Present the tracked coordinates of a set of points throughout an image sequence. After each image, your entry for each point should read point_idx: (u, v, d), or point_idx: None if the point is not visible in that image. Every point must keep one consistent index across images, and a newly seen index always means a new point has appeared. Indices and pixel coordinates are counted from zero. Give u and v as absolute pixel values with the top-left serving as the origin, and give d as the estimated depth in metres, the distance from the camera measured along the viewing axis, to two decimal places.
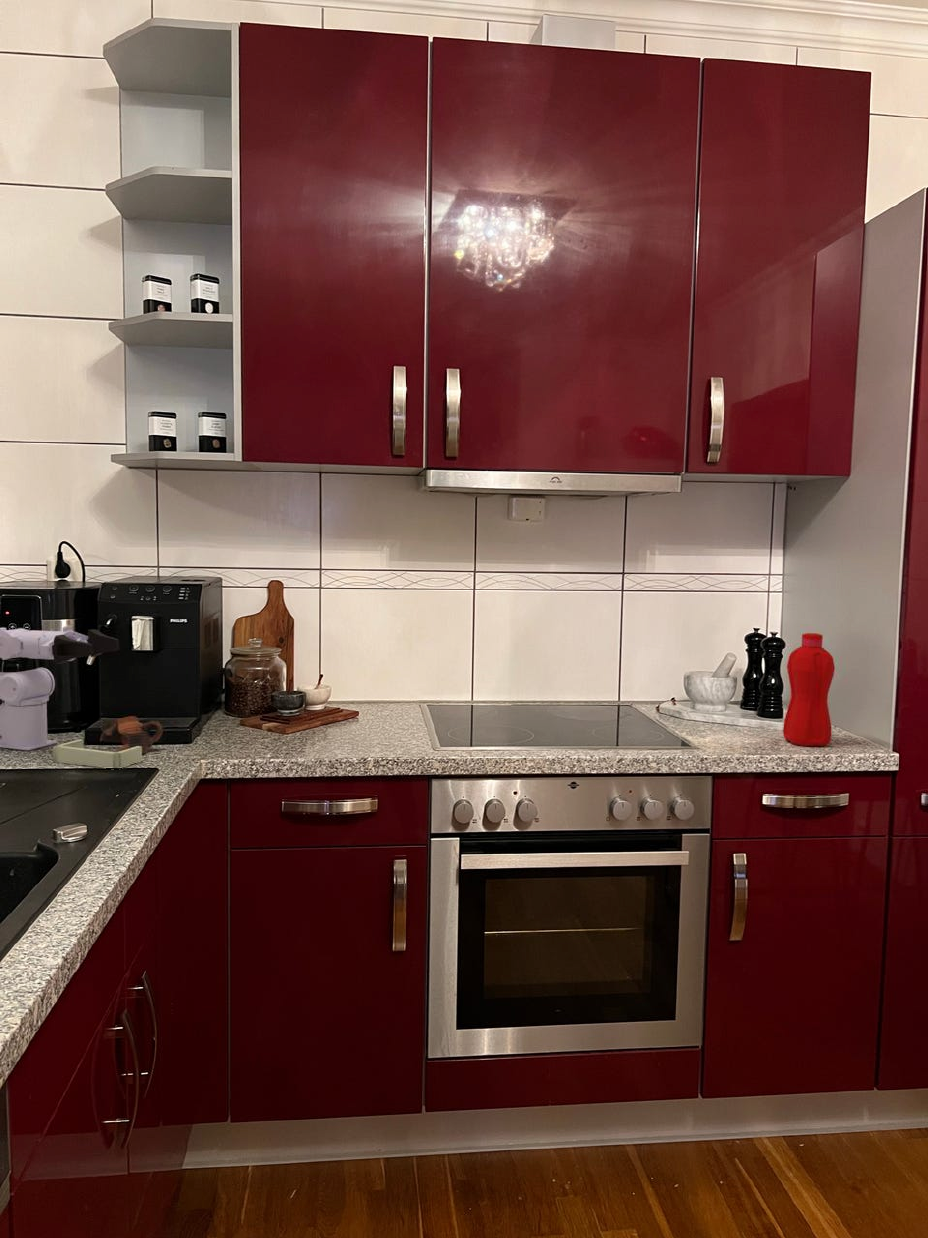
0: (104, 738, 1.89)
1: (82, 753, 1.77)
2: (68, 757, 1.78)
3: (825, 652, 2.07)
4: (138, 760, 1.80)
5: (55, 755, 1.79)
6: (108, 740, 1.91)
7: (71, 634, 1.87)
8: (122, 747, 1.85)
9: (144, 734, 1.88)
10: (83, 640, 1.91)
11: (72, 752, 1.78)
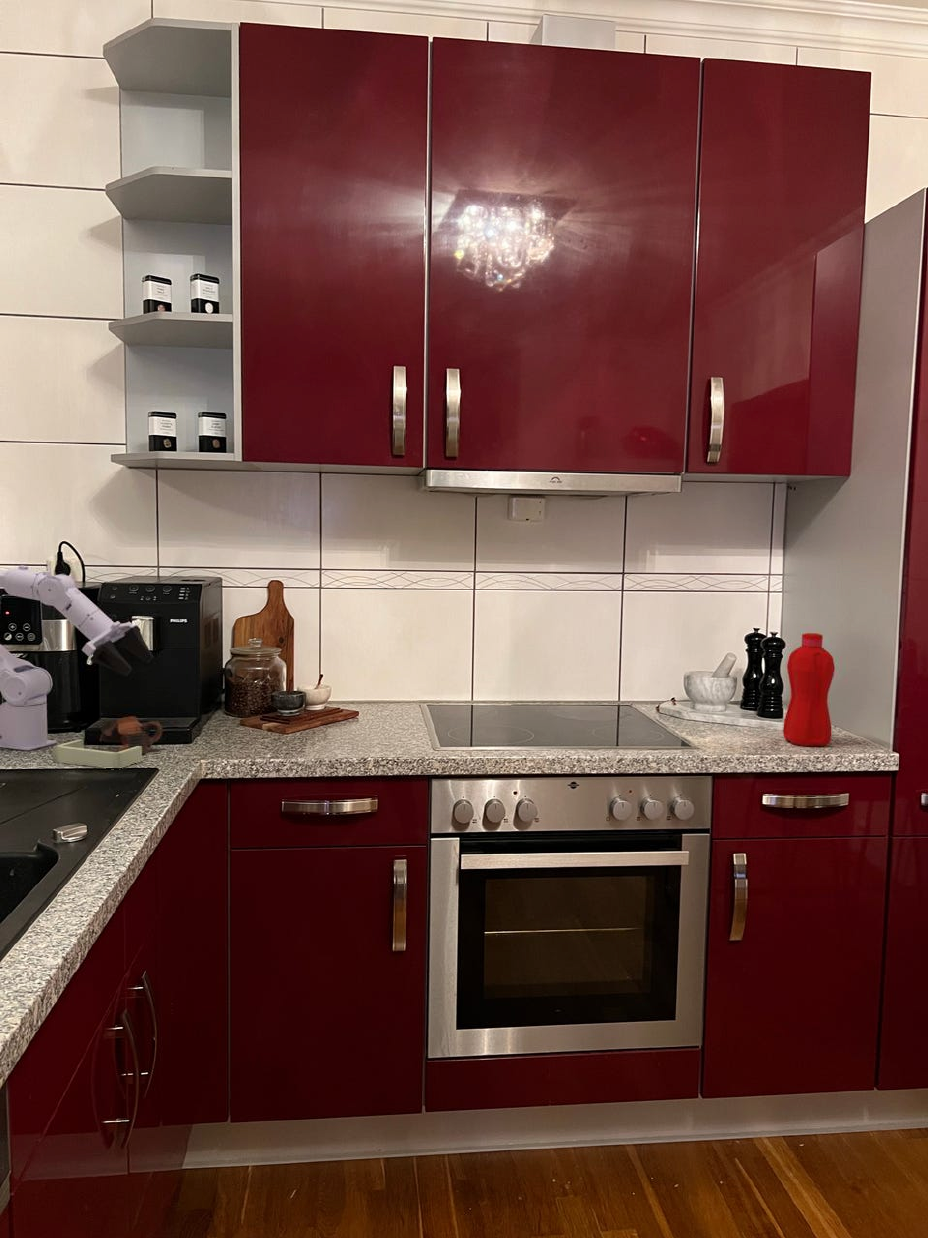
0: (104, 738, 1.89)
1: (82, 753, 1.77)
2: (68, 757, 1.78)
3: (825, 652, 2.07)
4: (138, 760, 1.80)
5: (55, 755, 1.79)
6: (108, 740, 1.91)
7: (116, 629, 1.89)
8: (122, 747, 1.84)
9: (144, 734, 1.88)
10: (121, 630, 1.93)
11: (72, 752, 1.78)
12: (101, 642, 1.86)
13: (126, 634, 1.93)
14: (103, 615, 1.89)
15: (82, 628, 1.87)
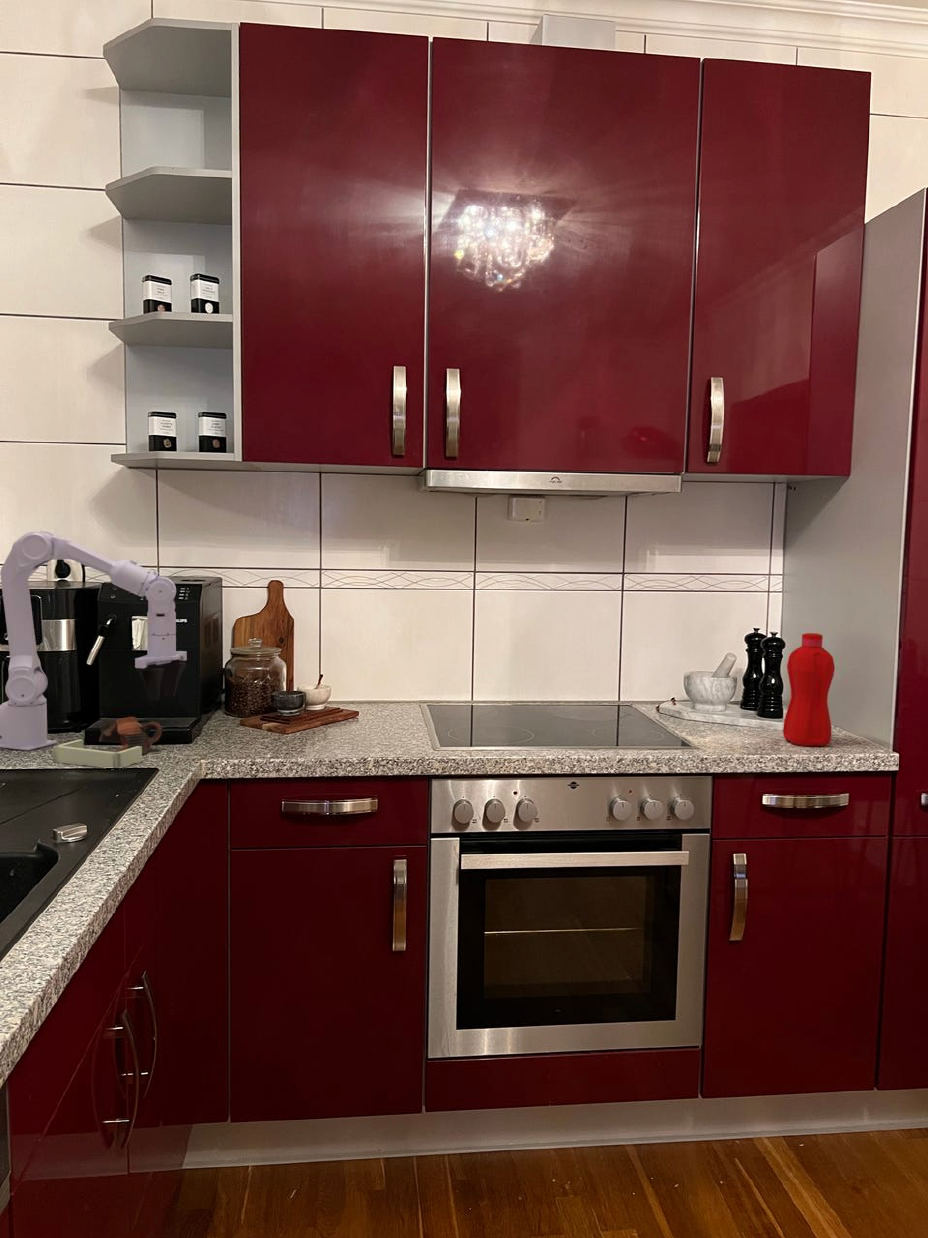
0: (103, 739, 1.89)
1: (82, 753, 1.77)
2: (68, 757, 1.78)
3: (825, 652, 2.07)
4: (138, 760, 1.80)
5: (55, 755, 1.79)
6: (107, 741, 1.90)
7: None
8: (121, 748, 1.84)
9: (143, 735, 1.88)
10: None
11: (72, 752, 1.78)
12: (153, 661, 1.94)
13: (172, 663, 2.00)
14: (173, 641, 1.96)
15: (150, 638, 1.94)
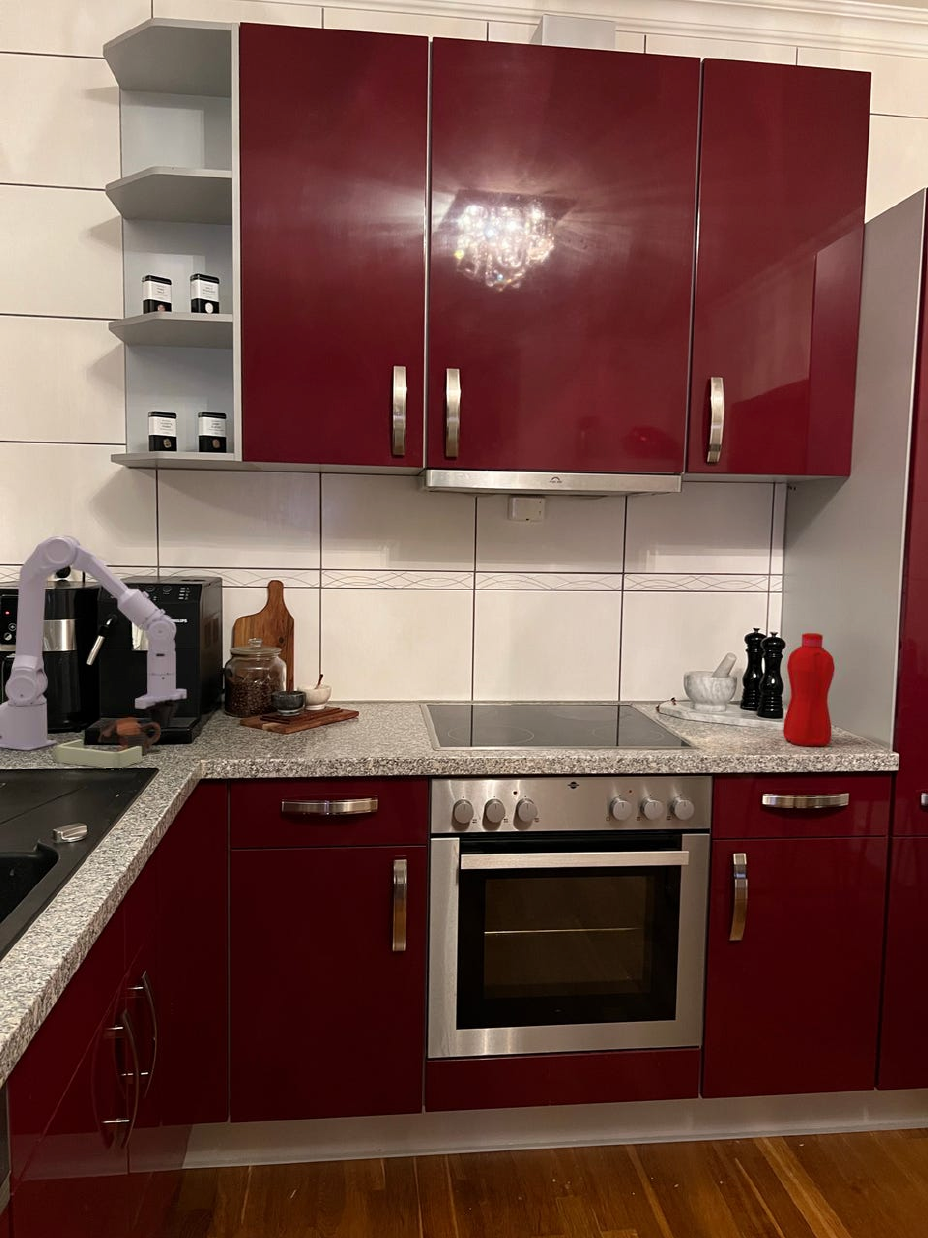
0: (102, 739, 1.88)
1: (82, 753, 1.77)
2: (68, 757, 1.78)
3: (825, 652, 2.07)
4: (138, 760, 1.80)
5: (55, 755, 1.79)
6: (106, 741, 1.90)
7: None
8: (121, 748, 1.84)
9: (143, 735, 1.87)
10: None
11: (72, 752, 1.78)
12: None
13: (165, 703, 1.98)
14: (173, 680, 1.97)
15: (150, 677, 1.95)
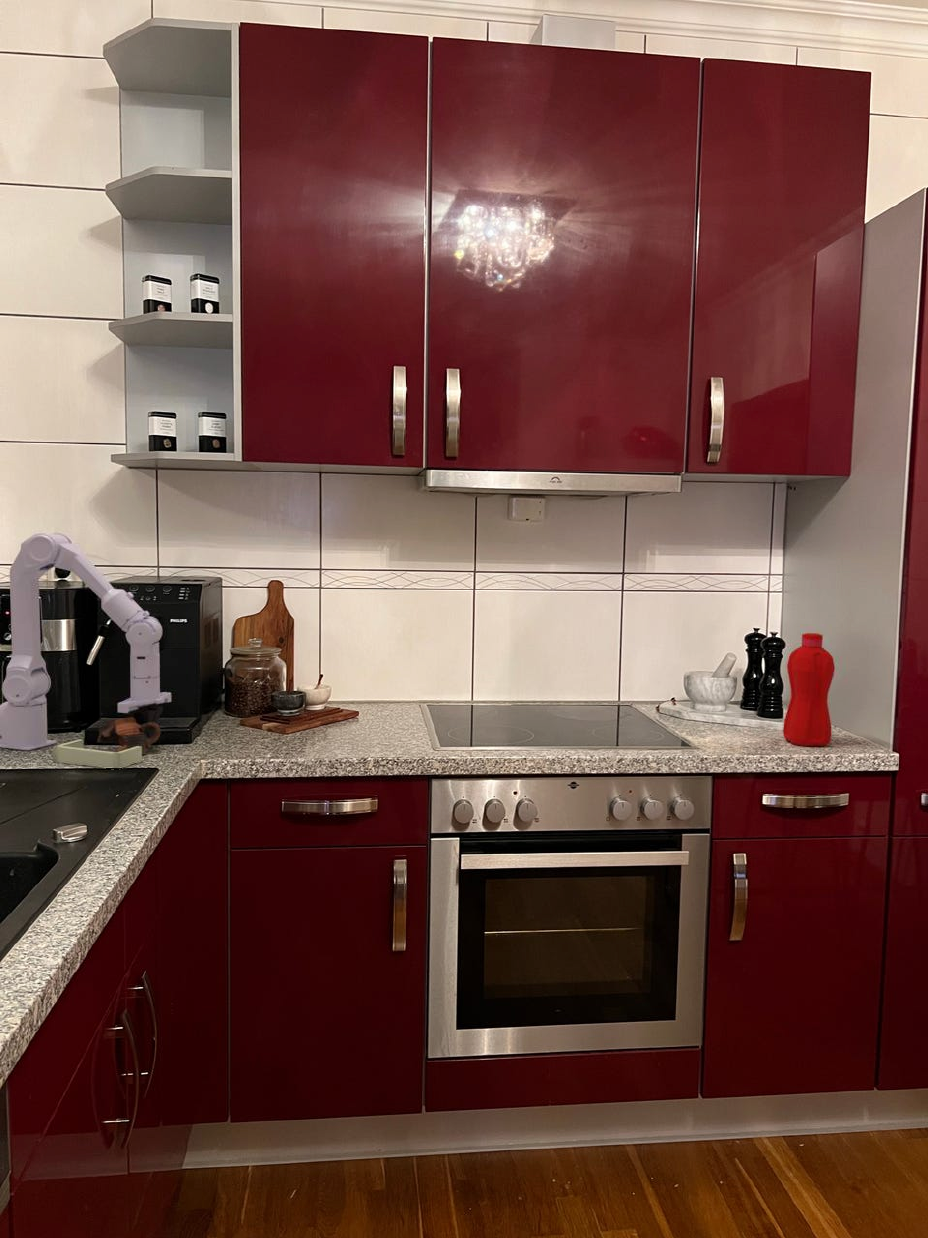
0: (101, 739, 1.88)
1: (82, 753, 1.77)
2: (68, 757, 1.78)
3: (825, 652, 2.07)
4: (138, 760, 1.80)
5: (55, 755, 1.79)
6: (105, 741, 1.89)
7: None
8: (120, 748, 1.83)
9: (142, 735, 1.87)
10: None
11: (72, 752, 1.78)
12: None
13: (148, 707, 1.93)
14: (157, 684, 1.92)
15: (133, 681, 1.90)
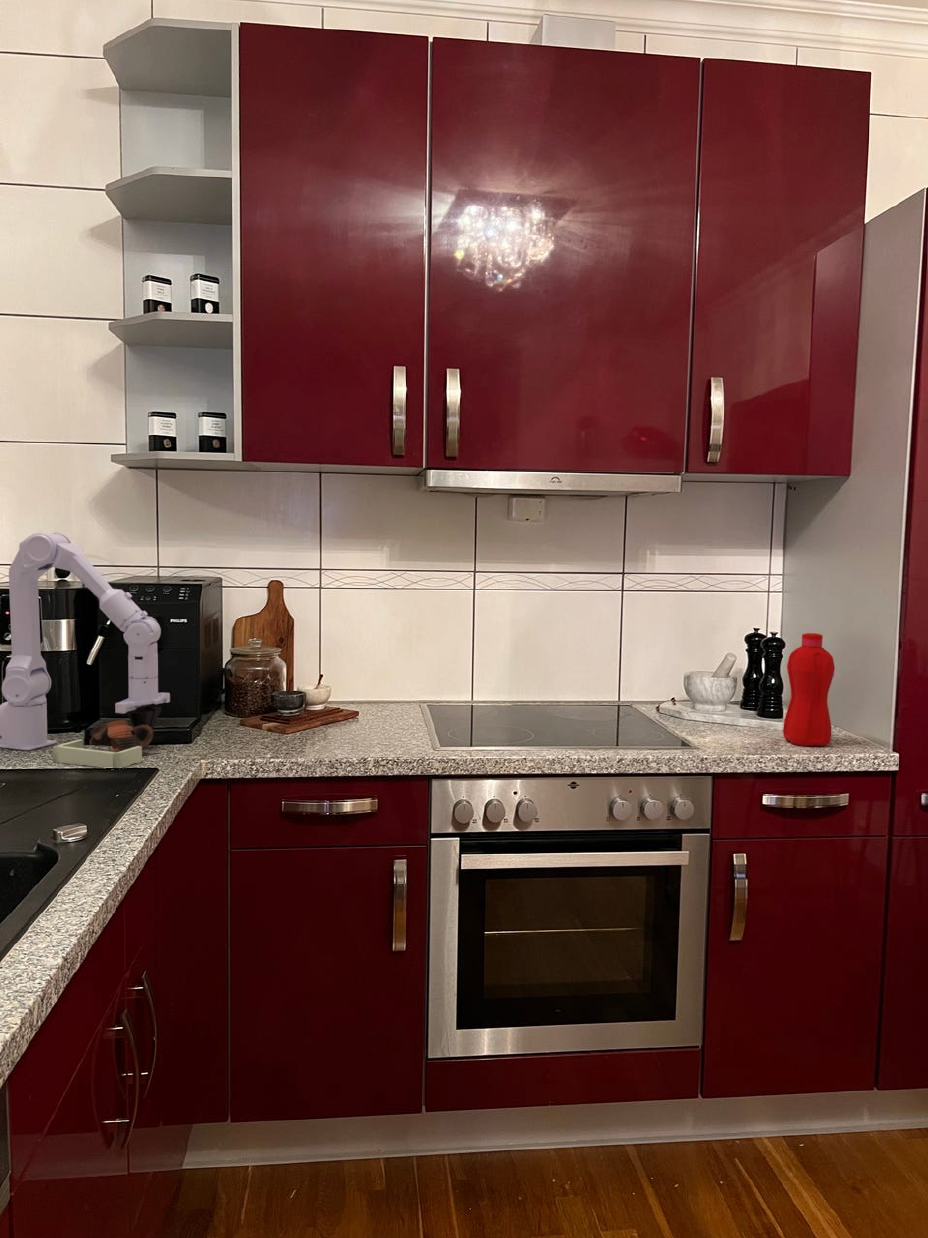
0: (93, 742, 1.85)
1: (82, 753, 1.77)
2: (68, 757, 1.78)
3: (825, 652, 2.07)
4: (138, 760, 1.80)
5: (55, 755, 1.79)
6: (97, 744, 1.87)
7: None
8: (111, 751, 1.81)
9: (134, 738, 1.84)
10: None
11: (72, 752, 1.78)
12: (134, 705, 1.89)
13: (147, 708, 1.92)
14: (155, 684, 1.91)
15: (131, 681, 1.89)
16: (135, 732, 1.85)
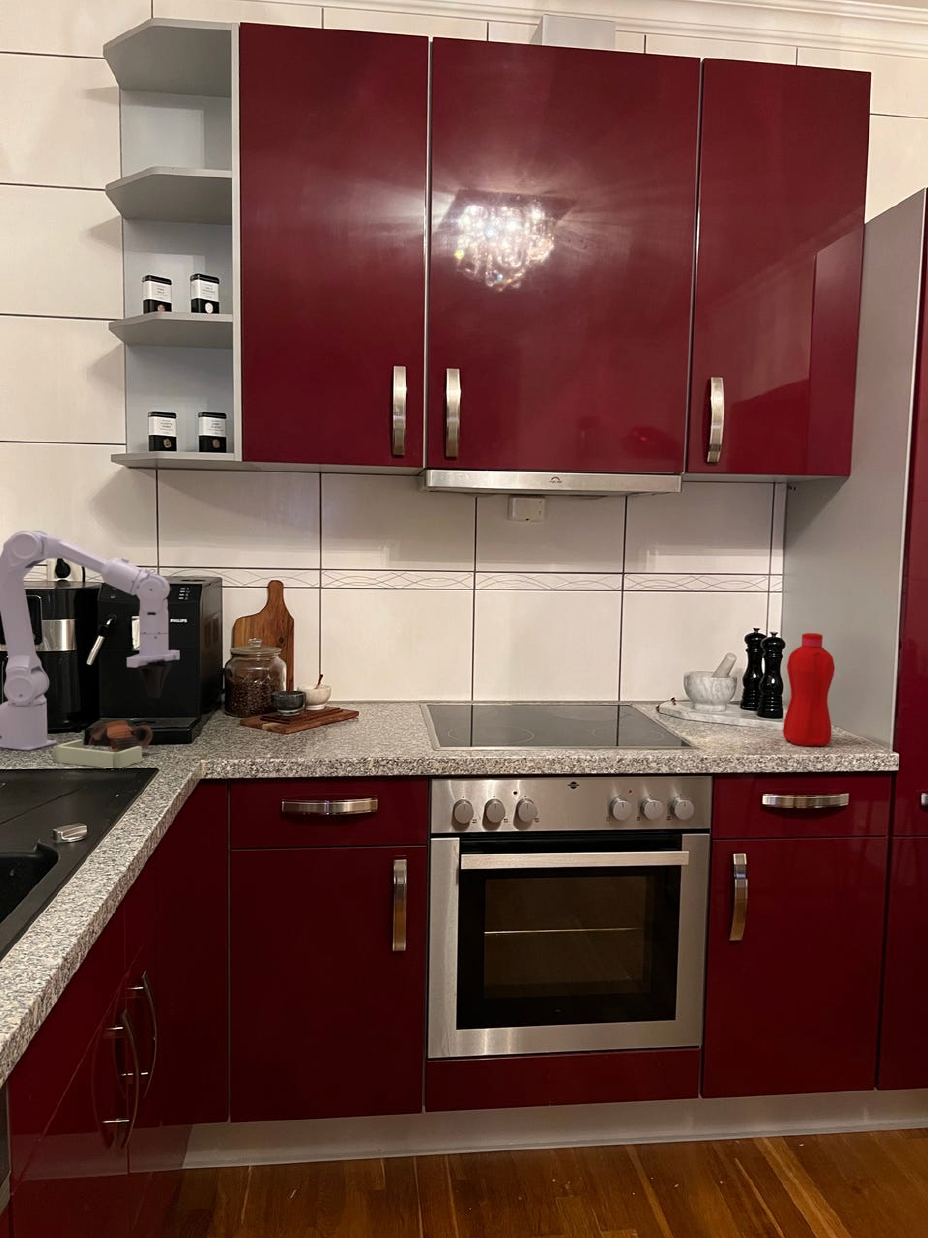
0: (93, 742, 1.85)
1: (82, 753, 1.77)
2: (68, 757, 1.78)
3: (825, 652, 2.07)
4: (138, 760, 1.80)
5: (55, 755, 1.79)
6: (97, 744, 1.87)
7: None
8: None
9: (134, 738, 1.84)
10: None
11: (72, 752, 1.78)
12: (145, 660, 1.92)
13: (157, 663, 1.95)
14: (166, 640, 1.94)
15: (142, 636, 1.92)
16: (134, 732, 1.85)
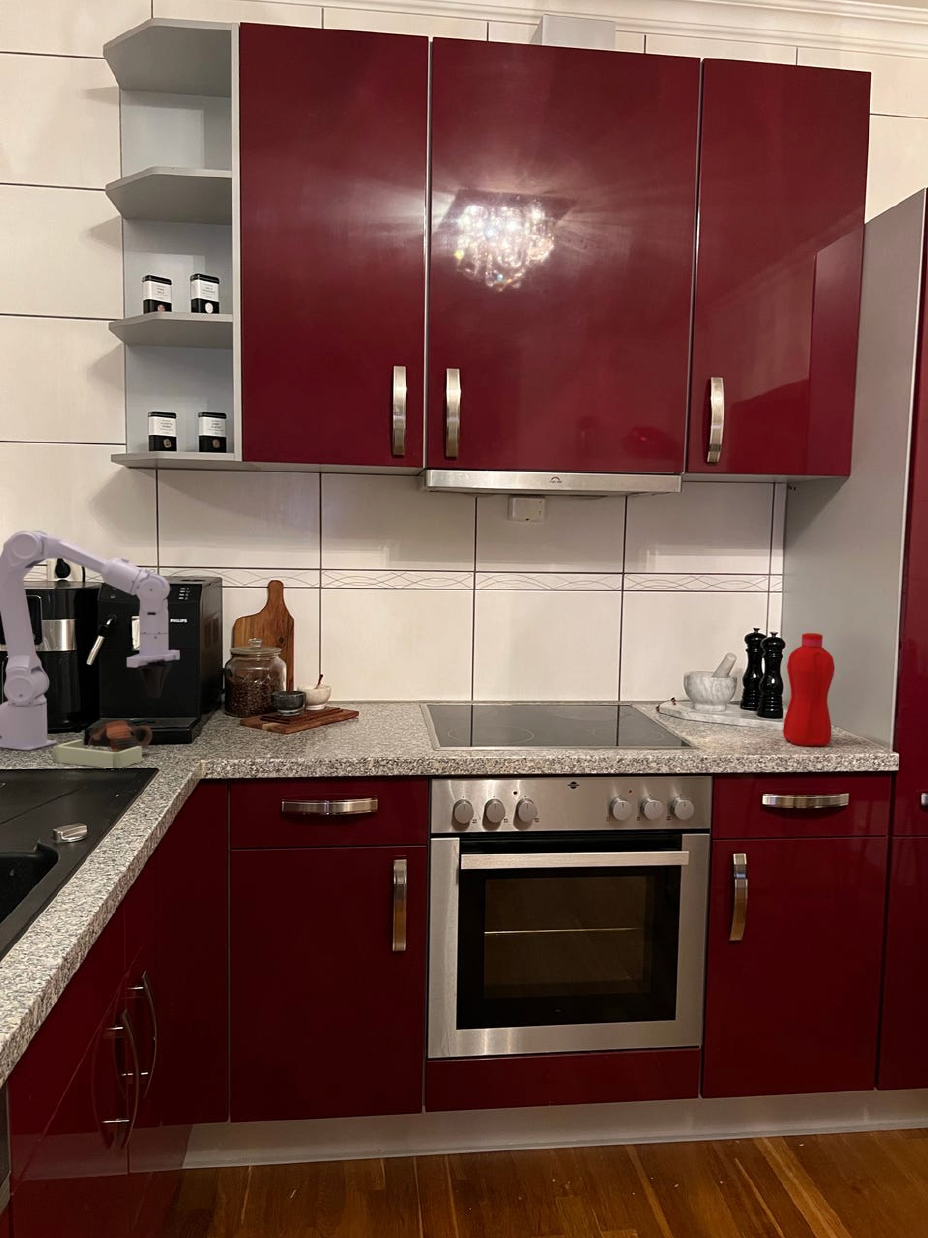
0: (92, 743, 1.85)
1: (82, 753, 1.77)
2: (68, 757, 1.78)
3: (825, 652, 2.07)
4: (138, 760, 1.80)
5: (55, 755, 1.79)
6: (96, 745, 1.86)
7: None
8: None
9: (133, 739, 1.84)
10: None
11: (72, 752, 1.78)
12: (145, 660, 1.92)
13: (157, 663, 1.95)
14: (166, 640, 1.94)
15: (142, 636, 1.92)
16: (134, 733, 1.85)
